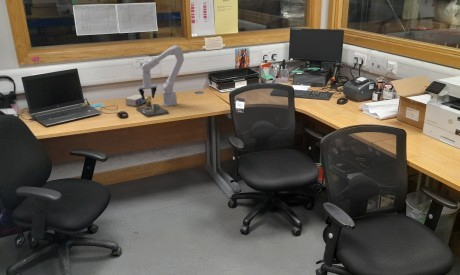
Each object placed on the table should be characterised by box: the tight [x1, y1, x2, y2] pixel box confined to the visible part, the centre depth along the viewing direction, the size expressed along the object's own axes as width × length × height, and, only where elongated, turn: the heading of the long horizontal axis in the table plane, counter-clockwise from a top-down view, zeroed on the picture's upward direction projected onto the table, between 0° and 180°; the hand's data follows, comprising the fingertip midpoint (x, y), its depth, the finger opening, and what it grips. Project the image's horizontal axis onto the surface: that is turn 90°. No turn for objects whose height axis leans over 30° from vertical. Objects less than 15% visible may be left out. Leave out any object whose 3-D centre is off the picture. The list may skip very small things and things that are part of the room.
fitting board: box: [135, 103, 170, 118], centre depth 280 cm, size 16×20×4 cm
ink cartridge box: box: [125, 93, 146, 107], centre depth 298 cm, size 10×6×14 cm
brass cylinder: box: [145, 95, 152, 106], centre depth 292 cm, size 4×4×7 cm
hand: (148, 98), depth 291 cm, fingers open, 7 cm apart
